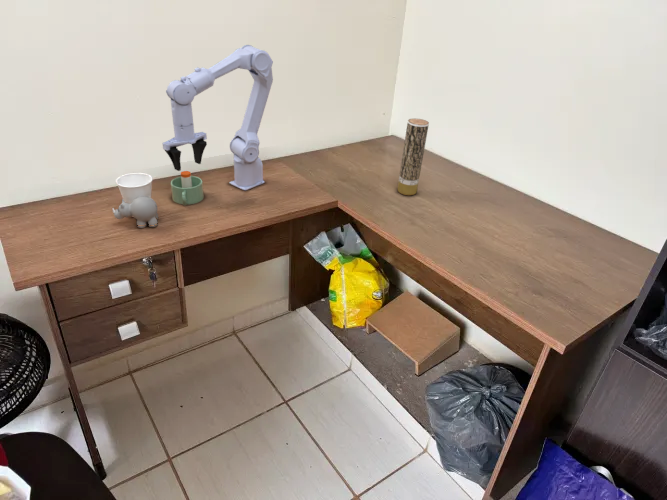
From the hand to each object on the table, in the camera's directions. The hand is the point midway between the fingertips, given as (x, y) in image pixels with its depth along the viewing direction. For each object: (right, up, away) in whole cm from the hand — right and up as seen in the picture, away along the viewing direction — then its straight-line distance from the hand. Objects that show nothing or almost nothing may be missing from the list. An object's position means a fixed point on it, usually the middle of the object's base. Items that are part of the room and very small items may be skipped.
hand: (188, 166), depth 149 cm
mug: (-1, -10, +4) cm, 11 cm away
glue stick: (-1, -9, +4) cm, 10 cm away
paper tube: (+71, -6, +19) cm, 74 cm away
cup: (-12, -15, -6) cm, 21 cm away
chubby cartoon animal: (-11, -19, -11) cm, 24 cm away
